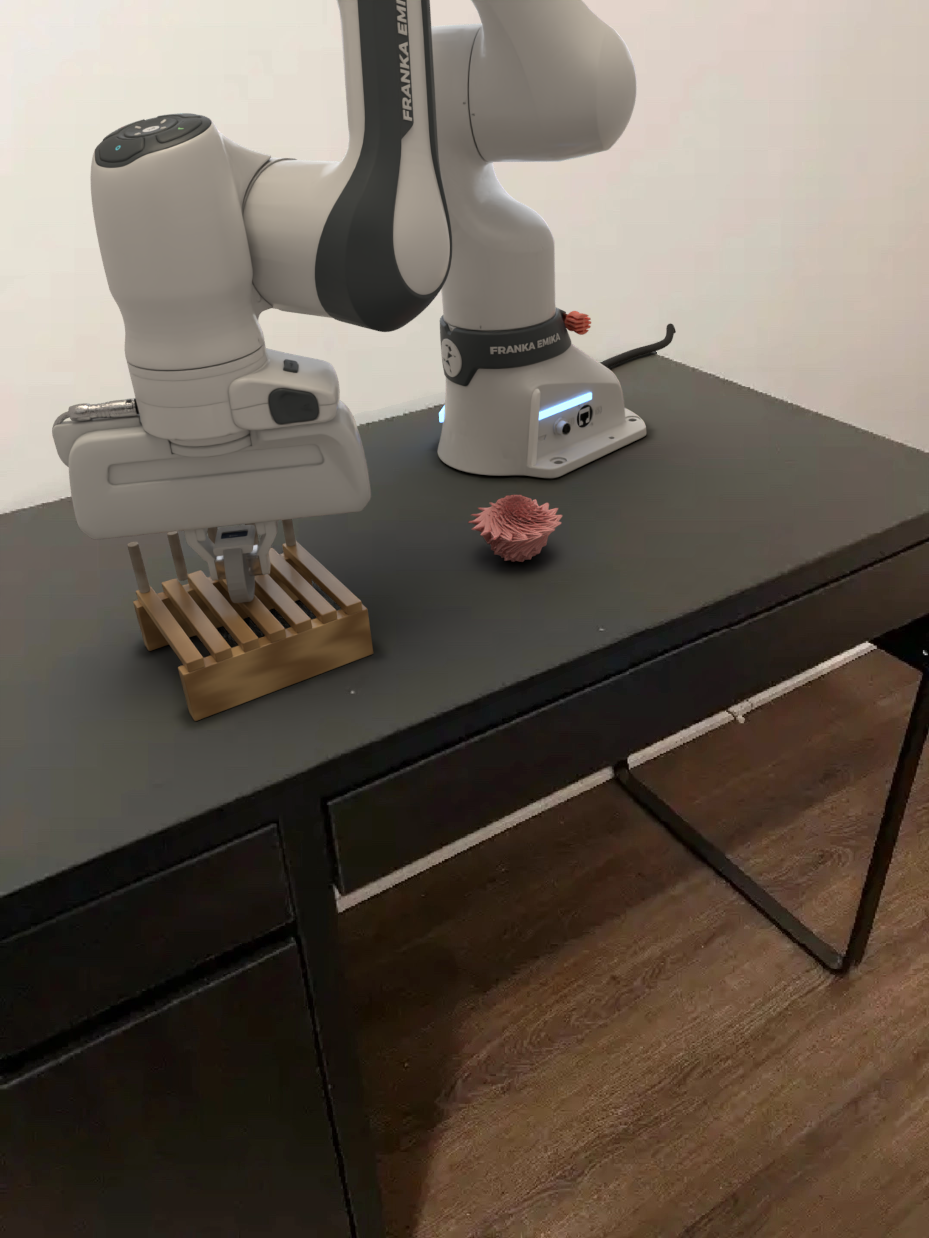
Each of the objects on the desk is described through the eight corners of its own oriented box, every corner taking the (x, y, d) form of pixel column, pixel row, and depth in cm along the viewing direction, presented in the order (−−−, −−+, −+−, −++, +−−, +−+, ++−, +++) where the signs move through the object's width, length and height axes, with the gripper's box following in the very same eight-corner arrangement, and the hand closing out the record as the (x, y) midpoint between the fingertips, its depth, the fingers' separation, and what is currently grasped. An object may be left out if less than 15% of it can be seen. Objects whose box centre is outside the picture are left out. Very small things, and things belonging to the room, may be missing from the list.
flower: (454, 568, 87) (450, 509, 84) (496, 528, 93) (493, 471, 90) (539, 586, 84) (537, 525, 81) (577, 543, 90) (577, 485, 87)
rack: (308, 589, 86) (292, 493, 81) (373, 654, 77) (360, 550, 73) (144, 644, 80) (117, 545, 76) (195, 721, 71) (167, 614, 67)
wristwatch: (262, 615, 73) (250, 554, 71) (224, 620, 73) (210, 558, 71) (266, 573, 79) (255, 514, 76) (230, 577, 78) (218, 518, 76)
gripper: (32, 425, 64) (89, 612, 72) (358, 393, 66) (381, 579, 73) (55, 391, 70) (105, 568, 77) (355, 362, 71) (377, 539, 78)
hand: (242, 573), depth 75 cm, fingers closed on wristwatch
